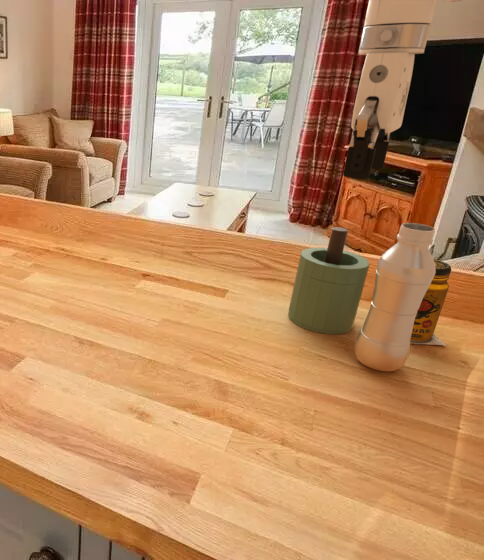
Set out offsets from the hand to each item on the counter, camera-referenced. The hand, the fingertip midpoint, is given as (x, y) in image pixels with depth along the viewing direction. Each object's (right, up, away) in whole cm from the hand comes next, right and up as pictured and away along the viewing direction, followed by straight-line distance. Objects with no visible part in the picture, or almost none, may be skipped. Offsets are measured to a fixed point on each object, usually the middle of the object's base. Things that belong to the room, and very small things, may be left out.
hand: (363, 172), depth 71 cm
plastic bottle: (0, -28, -3) cm, 28 cm away
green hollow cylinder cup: (-2, -22, +10) cm, 24 cm away
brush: (-2, -22, +9) cm, 24 cm away
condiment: (+11, -24, +6) cm, 27 cm away
